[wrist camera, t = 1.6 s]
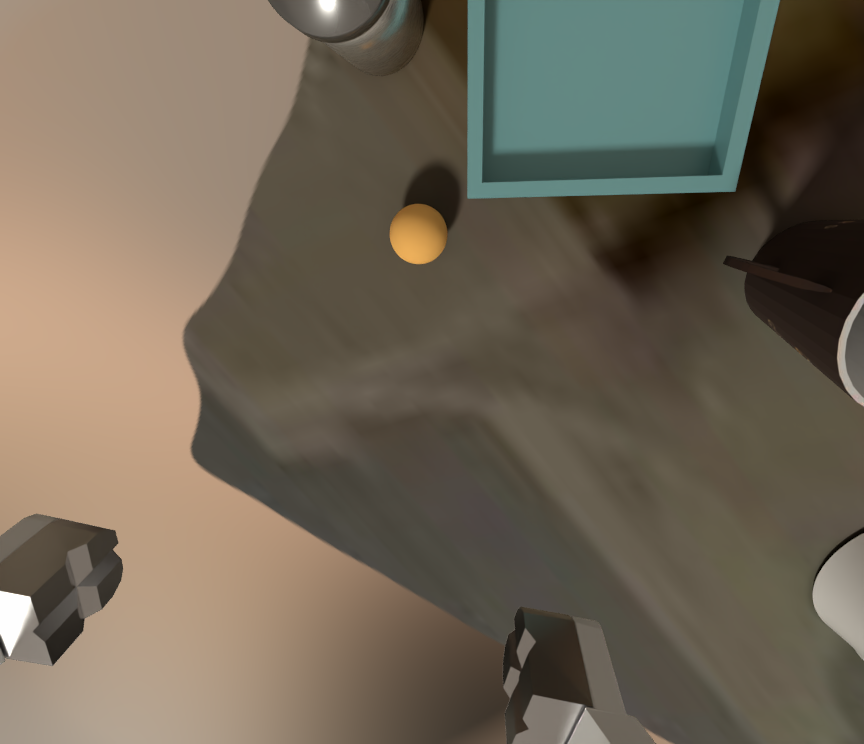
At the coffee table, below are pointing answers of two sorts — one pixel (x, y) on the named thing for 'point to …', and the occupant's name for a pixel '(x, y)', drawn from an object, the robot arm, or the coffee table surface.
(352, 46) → the cup
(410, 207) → the ball
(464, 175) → the coffee table surface
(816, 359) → the coffee mug
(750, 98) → the tray
